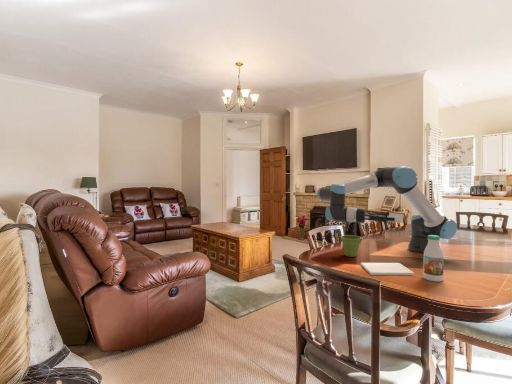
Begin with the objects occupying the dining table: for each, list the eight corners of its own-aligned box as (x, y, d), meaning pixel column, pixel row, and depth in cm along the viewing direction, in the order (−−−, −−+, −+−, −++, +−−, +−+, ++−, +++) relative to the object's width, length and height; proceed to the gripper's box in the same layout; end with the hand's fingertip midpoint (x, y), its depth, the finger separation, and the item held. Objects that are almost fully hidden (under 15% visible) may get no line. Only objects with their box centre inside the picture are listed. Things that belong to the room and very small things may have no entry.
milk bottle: (419, 276, 132) (419, 234, 131) (435, 275, 133) (435, 233, 132) (431, 282, 124) (431, 237, 124) (447, 281, 125) (448, 237, 124)
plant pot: (362, 258, 163) (362, 239, 163) (341, 257, 165) (341, 238, 165) (359, 253, 175) (359, 235, 174) (339, 252, 177) (339, 234, 177)
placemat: (399, 265, 150) (399, 262, 150) (414, 275, 134) (414, 272, 134) (360, 264, 151) (360, 262, 151) (371, 274, 135) (371, 272, 135)
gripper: (360, 219, 155) (403, 222, 145) (351, 225, 134) (402, 229, 123) (360, 206, 155) (403, 208, 145) (352, 209, 133) (402, 212, 123)
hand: (403, 218), depth 134 cm, fingers open, 13 cm apart
